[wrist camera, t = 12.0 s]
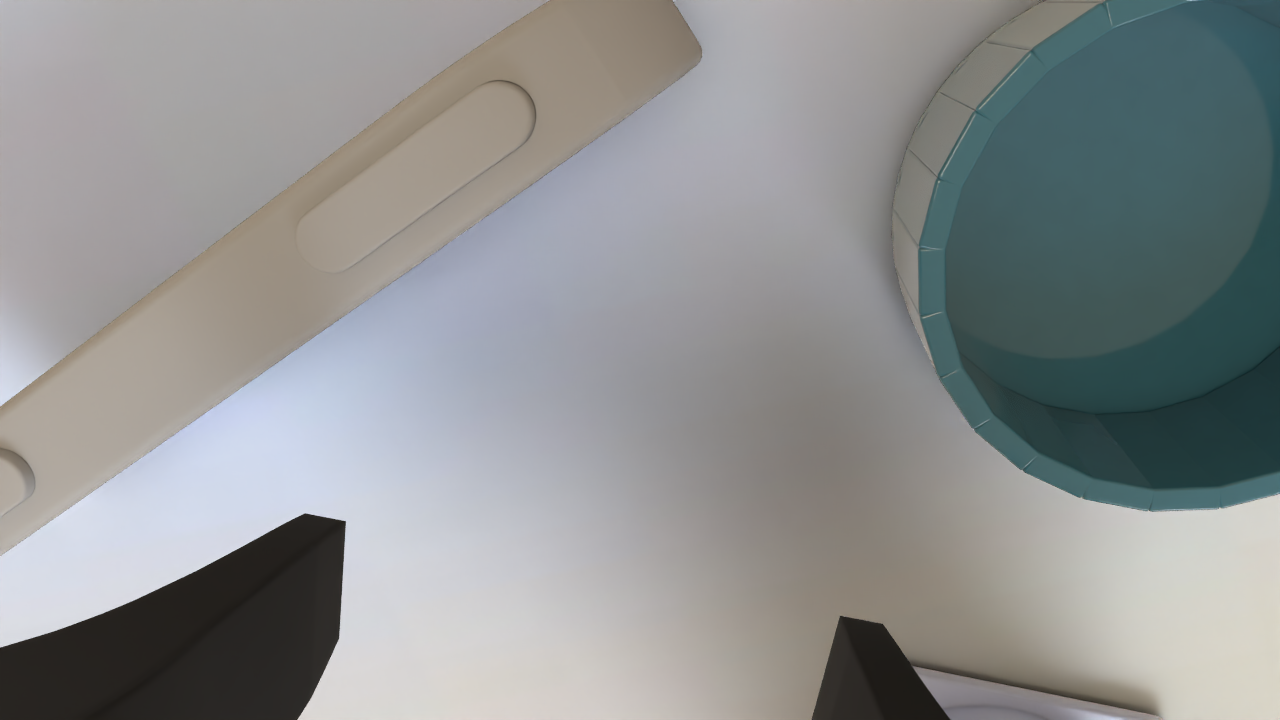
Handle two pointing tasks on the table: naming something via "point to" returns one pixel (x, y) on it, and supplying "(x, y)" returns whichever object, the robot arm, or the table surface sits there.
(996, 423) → the teal round dish
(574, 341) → the table surface
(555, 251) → the table surface
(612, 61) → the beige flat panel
